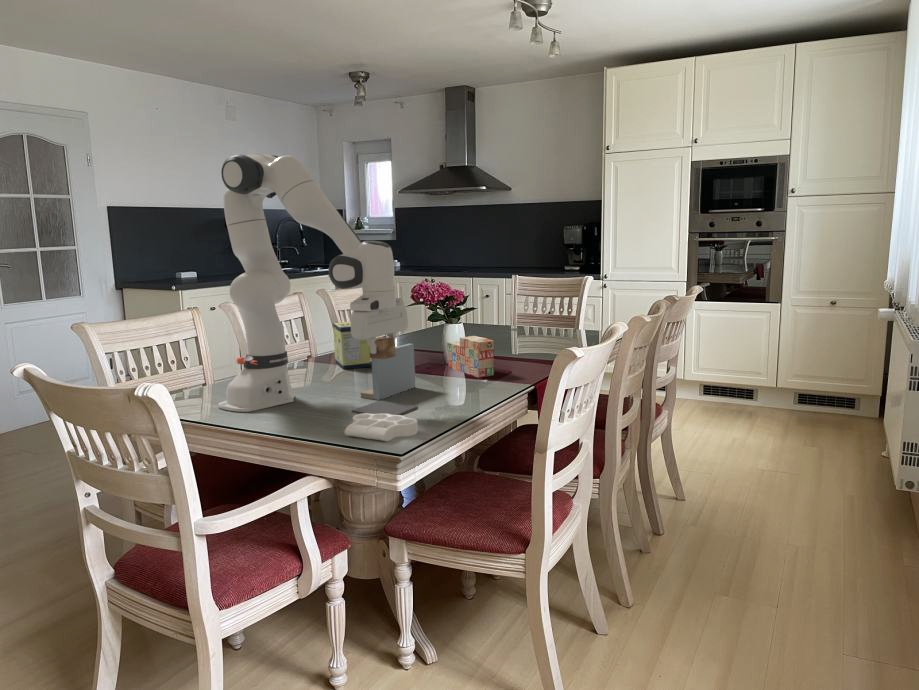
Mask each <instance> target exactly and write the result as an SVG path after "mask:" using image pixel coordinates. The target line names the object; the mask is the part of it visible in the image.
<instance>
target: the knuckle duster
mask: <svg viewBox="0 0 919 690" xmlns="http://www.w3.org/2000/svg"><path fill="white" fill-rule="evenodd" d="M418 433H419V431H418V419H416V418H411V417H406V416H405V415H403V414H402V415H391V414H382V413H381V414H370V413H363V414H358V413H357V414H355V415H354V416H353V417H352V423H350V424H349V425H347V426H346V427H345V429H344V435H345V436H348V437H349V438H350V437H355V438H360V439H367V440H375V441H380V442H381V441H382V442H390V441H391V440H393V439H395V438H398V437H411V436H414V435H416V434H418Z"/></svg>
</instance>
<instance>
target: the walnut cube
mask: <svg viewBox="0 0 919 690" xmlns="http://www.w3.org/2000/svg"><path fill="white" fill-rule="evenodd" d="M374 342H375V344H376V346H377V347H379V352H378V353H376V354H371V352H370V359H371V358H375V359H387V358H391V357H394V356H396V352H395V347H396V338H388V337H382V336H378V337H376V341H374ZM369 350H370V346H369Z"/></svg>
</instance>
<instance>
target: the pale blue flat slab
mask: <svg viewBox="0 0 919 690" xmlns="http://www.w3.org/2000/svg"><path fill="white" fill-rule="evenodd" d="M414 345H415V344H414V343H406V344H402V345H397V346H395V352H396V356H394V357H391V358H387V359H375V358H370V360H371V374H372V375H371V376H372V377H371V378H372V389H371V388H370V389H367V390H365V391H361V392H360V398H362V399H363V398H364V399H369V400H374V399H375V401H379V400H380V399H381V400H383V399H386V398H389V397H392V396H395V395H398V394H400V392H401V393H404V392H406V391H409V390H411V388H412V389H415V388H416V367H415V363H416V362H415V346H414ZM414 387H415V388H414ZM408 389H409V390H408ZM403 391H404V392H403ZM397 393H398V394H397ZM394 394H395V395H394ZM391 395H392V396H391ZM388 396H389V397H388ZM381 400H380V401H381Z"/></svg>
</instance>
